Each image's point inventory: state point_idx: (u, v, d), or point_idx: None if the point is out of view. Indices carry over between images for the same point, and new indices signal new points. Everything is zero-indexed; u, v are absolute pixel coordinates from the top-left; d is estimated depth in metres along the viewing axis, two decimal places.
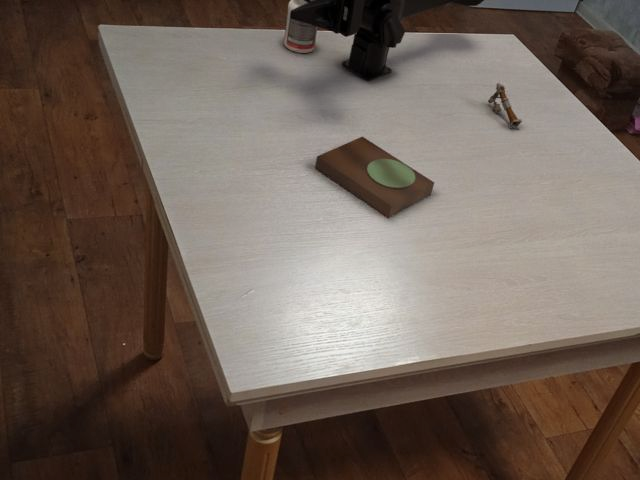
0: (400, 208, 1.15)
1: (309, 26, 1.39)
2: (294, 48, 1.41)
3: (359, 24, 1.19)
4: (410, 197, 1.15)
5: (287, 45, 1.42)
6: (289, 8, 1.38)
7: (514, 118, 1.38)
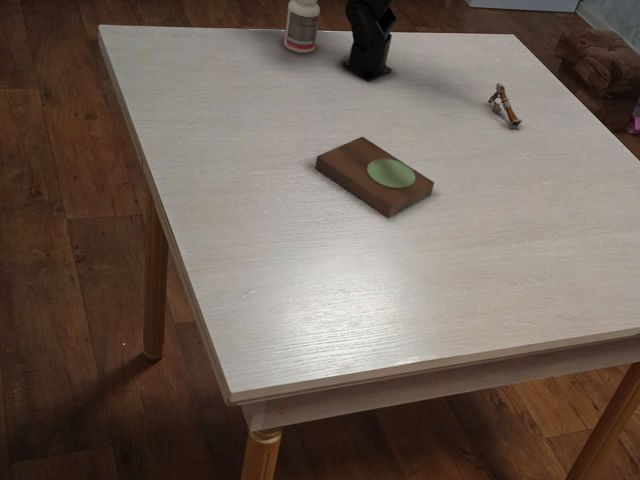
0: (400, 208, 1.15)
1: (309, 26, 1.39)
2: (294, 48, 1.41)
3: None
4: (410, 197, 1.15)
5: (287, 45, 1.42)
6: (289, 8, 1.38)
7: (514, 118, 1.38)
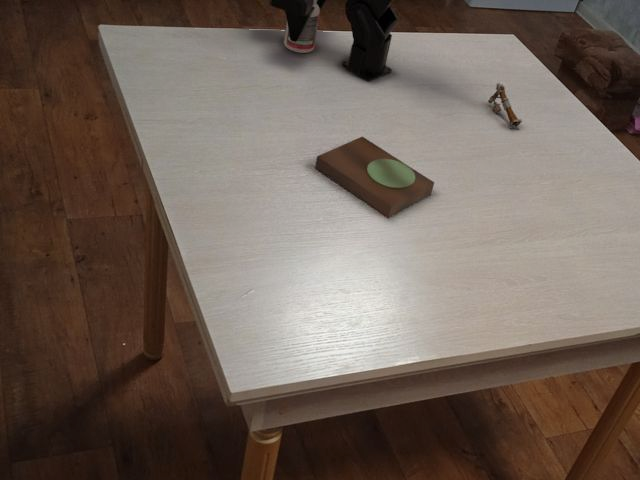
0: (400, 208, 1.15)
1: (309, 26, 1.39)
2: (294, 48, 1.41)
3: (295, 2, 1.29)
4: (410, 197, 1.15)
5: (287, 45, 1.42)
6: None
7: (514, 118, 1.38)
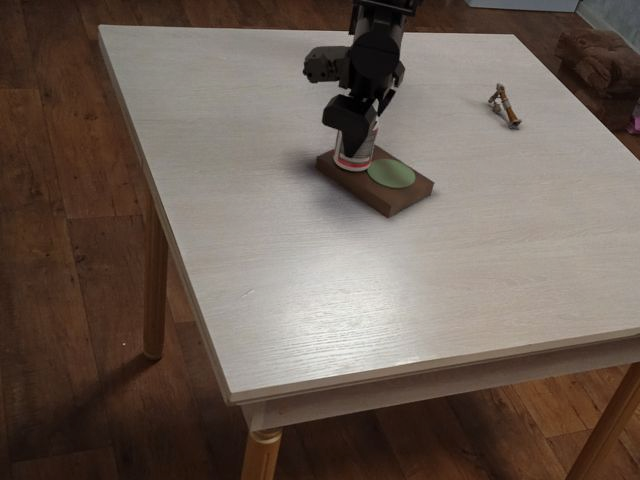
0: (400, 208, 1.15)
1: (366, 141, 1.13)
2: (347, 166, 1.15)
3: (355, 122, 1.03)
4: (410, 197, 1.15)
5: (338, 162, 1.15)
6: None
7: (514, 118, 1.38)
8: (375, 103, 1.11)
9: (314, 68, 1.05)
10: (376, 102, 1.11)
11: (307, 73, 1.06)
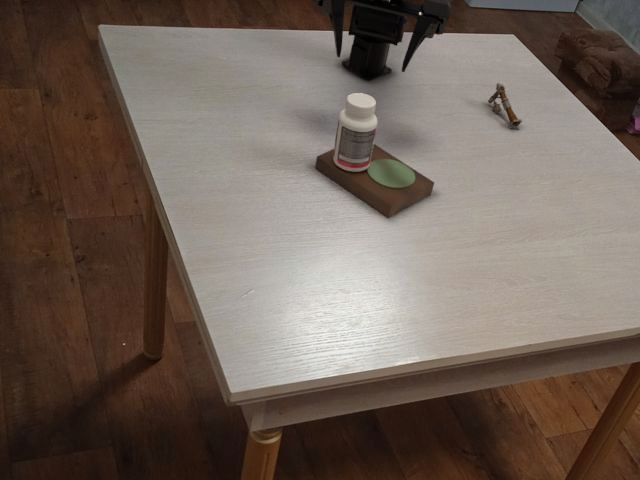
0: (400, 208, 1.15)
1: (365, 142, 1.13)
2: (346, 167, 1.15)
3: None
4: (410, 197, 1.15)
5: (338, 163, 1.15)
6: (340, 121, 1.12)
7: (514, 118, 1.38)
8: (372, 103, 1.11)
9: None
10: (373, 102, 1.11)
11: None
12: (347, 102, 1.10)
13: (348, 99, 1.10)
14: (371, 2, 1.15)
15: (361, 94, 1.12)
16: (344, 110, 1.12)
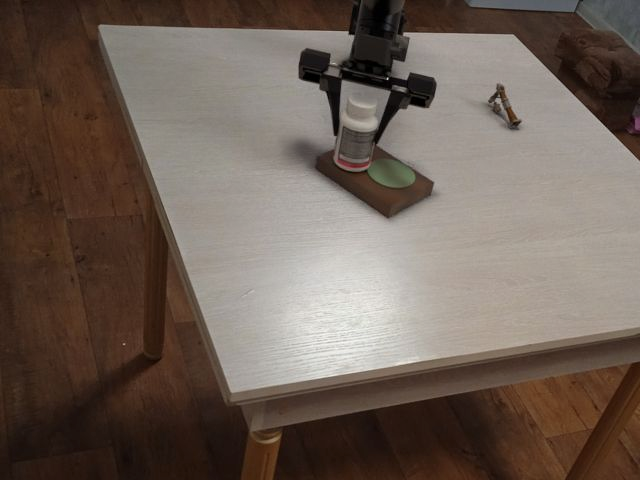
0: (400, 208, 1.15)
1: (365, 142, 1.13)
2: (347, 167, 1.15)
3: None
4: (410, 197, 1.15)
5: (338, 163, 1.15)
6: (341, 121, 1.12)
7: (514, 118, 1.38)
8: (374, 103, 1.11)
9: None
10: (375, 102, 1.11)
11: (406, 52, 1.07)
12: (348, 102, 1.10)
13: (349, 99, 1.10)
14: (356, 77, 1.13)
15: (362, 94, 1.12)
16: (345, 110, 1.12)
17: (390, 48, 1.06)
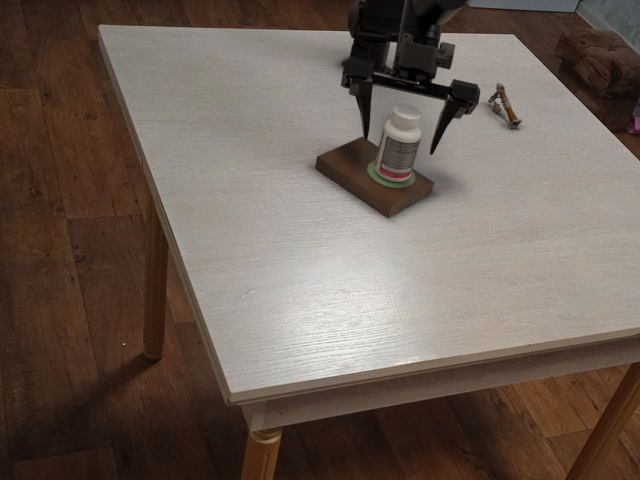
0: (400, 208, 1.15)
1: (408, 153, 1.13)
2: (388, 177, 1.15)
3: None
4: (410, 197, 1.15)
5: (379, 173, 1.16)
6: (385, 131, 1.12)
7: (514, 118, 1.38)
8: (418, 114, 1.11)
9: None
10: (419, 113, 1.11)
11: (452, 60, 1.07)
12: (393, 113, 1.10)
13: (395, 110, 1.11)
14: (399, 85, 1.13)
15: (407, 105, 1.12)
16: (389, 120, 1.13)
17: (436, 56, 1.06)
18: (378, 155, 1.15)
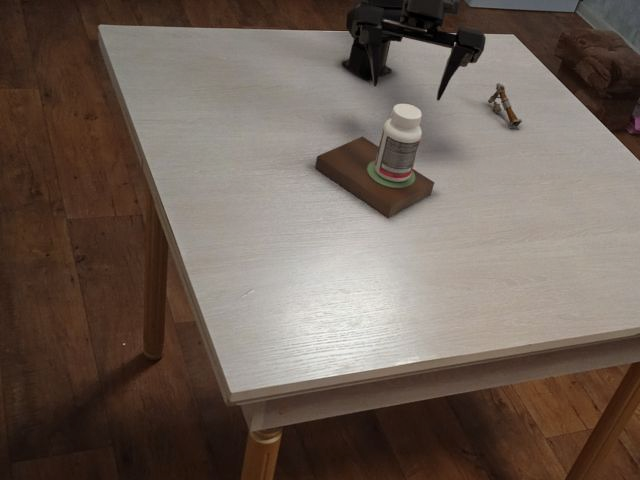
0: (400, 208, 1.15)
1: (408, 153, 1.13)
2: (388, 177, 1.15)
3: None
4: (410, 197, 1.15)
5: (379, 173, 1.16)
6: (385, 131, 1.12)
7: (514, 118, 1.38)
8: (418, 114, 1.11)
9: None
10: (419, 113, 1.11)
11: (458, 5, 1.11)
12: (393, 113, 1.10)
13: (395, 110, 1.11)
14: (407, 32, 1.17)
15: (407, 105, 1.12)
16: (389, 120, 1.13)
17: (444, 1, 1.10)
18: (378, 155, 1.15)
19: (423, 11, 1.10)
